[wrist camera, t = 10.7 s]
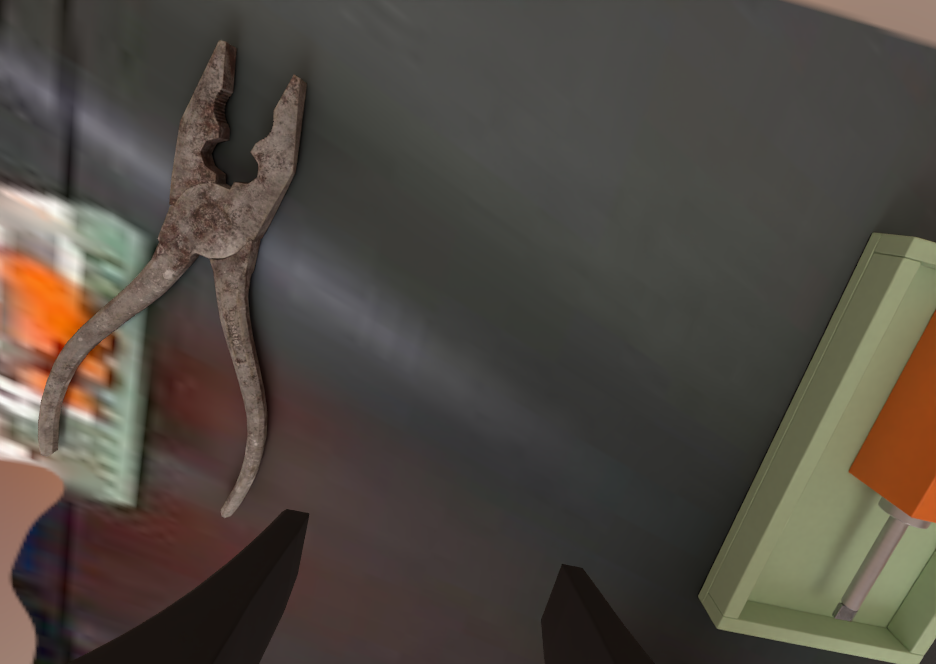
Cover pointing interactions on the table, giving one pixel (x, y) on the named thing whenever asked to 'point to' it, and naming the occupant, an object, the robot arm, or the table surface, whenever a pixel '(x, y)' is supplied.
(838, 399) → the tray
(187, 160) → the pliers
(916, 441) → the screwdriver
